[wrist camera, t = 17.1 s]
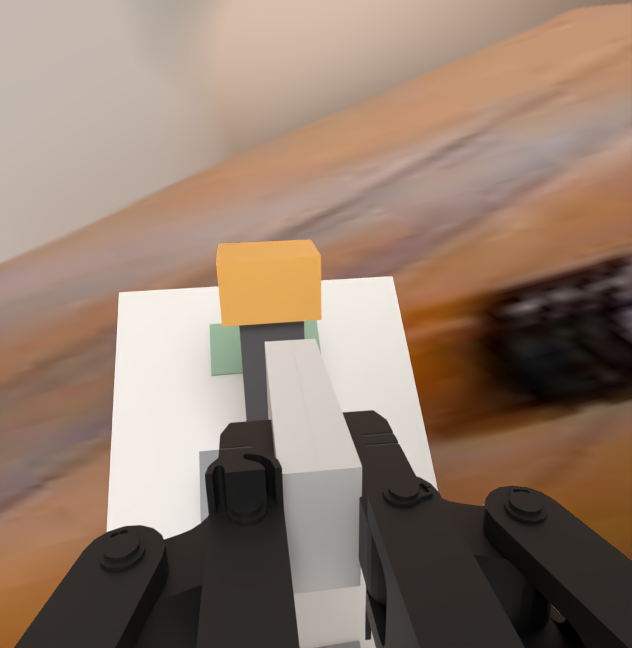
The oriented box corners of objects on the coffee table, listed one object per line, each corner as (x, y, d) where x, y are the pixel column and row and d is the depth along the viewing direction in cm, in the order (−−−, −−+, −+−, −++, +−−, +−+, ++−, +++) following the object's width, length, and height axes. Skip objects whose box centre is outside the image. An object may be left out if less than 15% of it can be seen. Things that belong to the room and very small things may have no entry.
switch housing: (374, 320, 37) (408, 237, 28) (452, 738, 27) (546, 819, 18) (141, 336, 35) (98, 252, 26) (128, 797, 24) (49, 921, 16)
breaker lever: (317, 489, 26) (313, 235, 21) (331, 550, 22) (329, 260, 17) (237, 498, 25) (213, 240, 21) (237, 562, 22) (209, 267, 17)
